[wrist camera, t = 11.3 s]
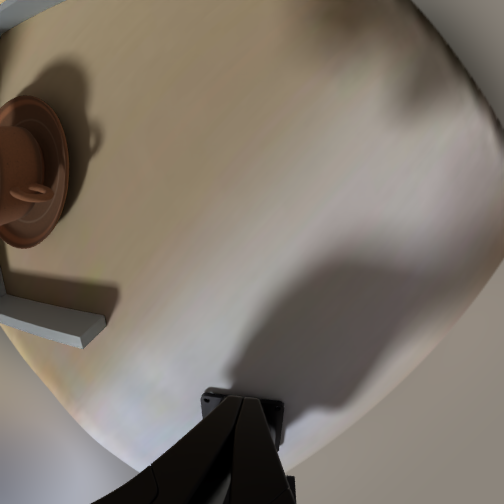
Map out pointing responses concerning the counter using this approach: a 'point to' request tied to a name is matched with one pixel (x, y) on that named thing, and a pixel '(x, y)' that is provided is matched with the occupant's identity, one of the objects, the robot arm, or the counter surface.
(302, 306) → the counter surface
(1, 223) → the cup and saucer
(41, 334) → the u-shaped low fence
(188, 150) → the counter surface
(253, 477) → the robot arm
